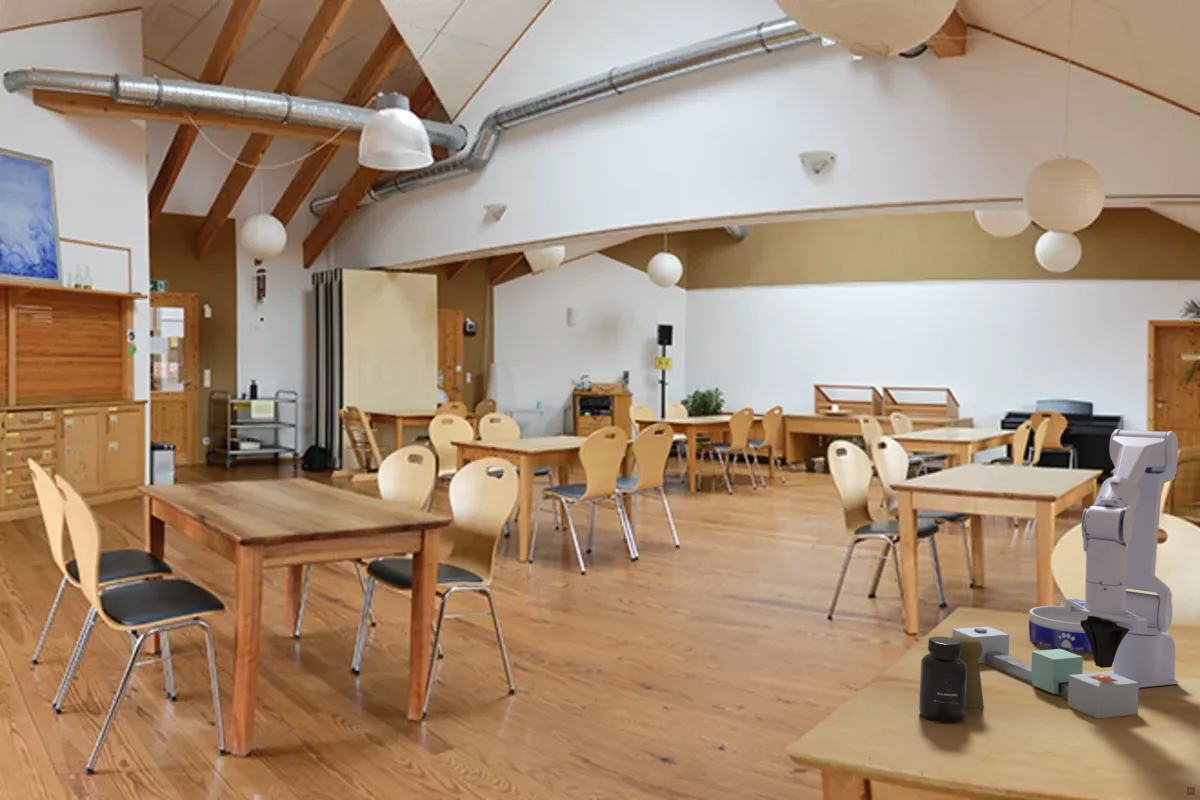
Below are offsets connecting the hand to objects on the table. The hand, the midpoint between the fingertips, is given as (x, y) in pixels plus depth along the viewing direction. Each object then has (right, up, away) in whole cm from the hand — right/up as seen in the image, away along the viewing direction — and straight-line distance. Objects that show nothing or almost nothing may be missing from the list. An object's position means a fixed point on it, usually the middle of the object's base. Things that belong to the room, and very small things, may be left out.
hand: (1103, 666), depth 153 cm
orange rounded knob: (0, -6, 0) cm, 6 cm away
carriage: (-3, -7, +10) cm, 12 cm away
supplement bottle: (-27, -7, -4) cm, 28 cm away
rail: (-4, -7, +14) cm, 17 cm away
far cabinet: (-9, -6, +28) cm, 30 cm away
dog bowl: (+14, -7, +40) cm, 43 cm away
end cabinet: (0, -7, 0) cm, 7 cm away
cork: (-22, -7, +2) cm, 23 cm away
